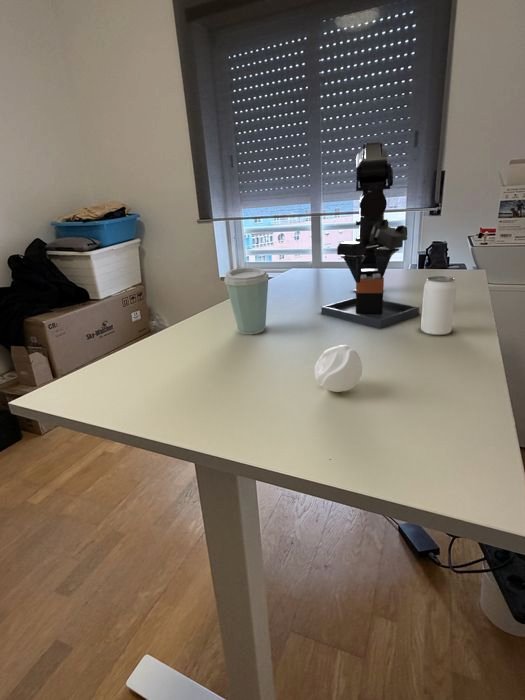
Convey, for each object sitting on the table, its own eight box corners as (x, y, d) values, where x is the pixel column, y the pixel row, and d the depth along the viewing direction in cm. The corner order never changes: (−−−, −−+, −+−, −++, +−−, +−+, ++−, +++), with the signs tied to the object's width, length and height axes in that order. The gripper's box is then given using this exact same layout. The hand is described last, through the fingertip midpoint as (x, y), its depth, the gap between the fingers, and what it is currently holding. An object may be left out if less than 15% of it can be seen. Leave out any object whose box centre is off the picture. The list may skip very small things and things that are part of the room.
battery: (382, 314, 105) (384, 276, 101) (355, 314, 107) (356, 276, 103) (382, 310, 109) (384, 272, 105) (356, 309, 111) (357, 273, 107)
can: (455, 329, 92) (461, 277, 88) (445, 337, 88) (450, 282, 84) (427, 325, 96) (431, 274, 92) (415, 332, 92) (419, 280, 88)
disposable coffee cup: (280, 331, 99) (277, 269, 94) (241, 341, 94) (236, 276, 89) (258, 321, 108) (254, 265, 102) (222, 330, 103) (215, 271, 97)
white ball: (311, 381, 72) (310, 340, 69) (353, 377, 72) (354, 336, 69) (320, 402, 64) (320, 357, 62) (367, 398, 65) (369, 353, 62)
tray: (321, 313, 111) (321, 306, 110) (359, 302, 120) (359, 295, 119) (379, 328, 96) (380, 320, 95) (418, 314, 105) (419, 307, 104)
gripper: (373, 219, 88) (371, 290, 93) (423, 212, 98) (419, 277, 103) (335, 219, 96) (335, 284, 102) (385, 213, 106) (383, 272, 112)
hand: (369, 279), depth 104 cm, fingers open, 9 cm apart
